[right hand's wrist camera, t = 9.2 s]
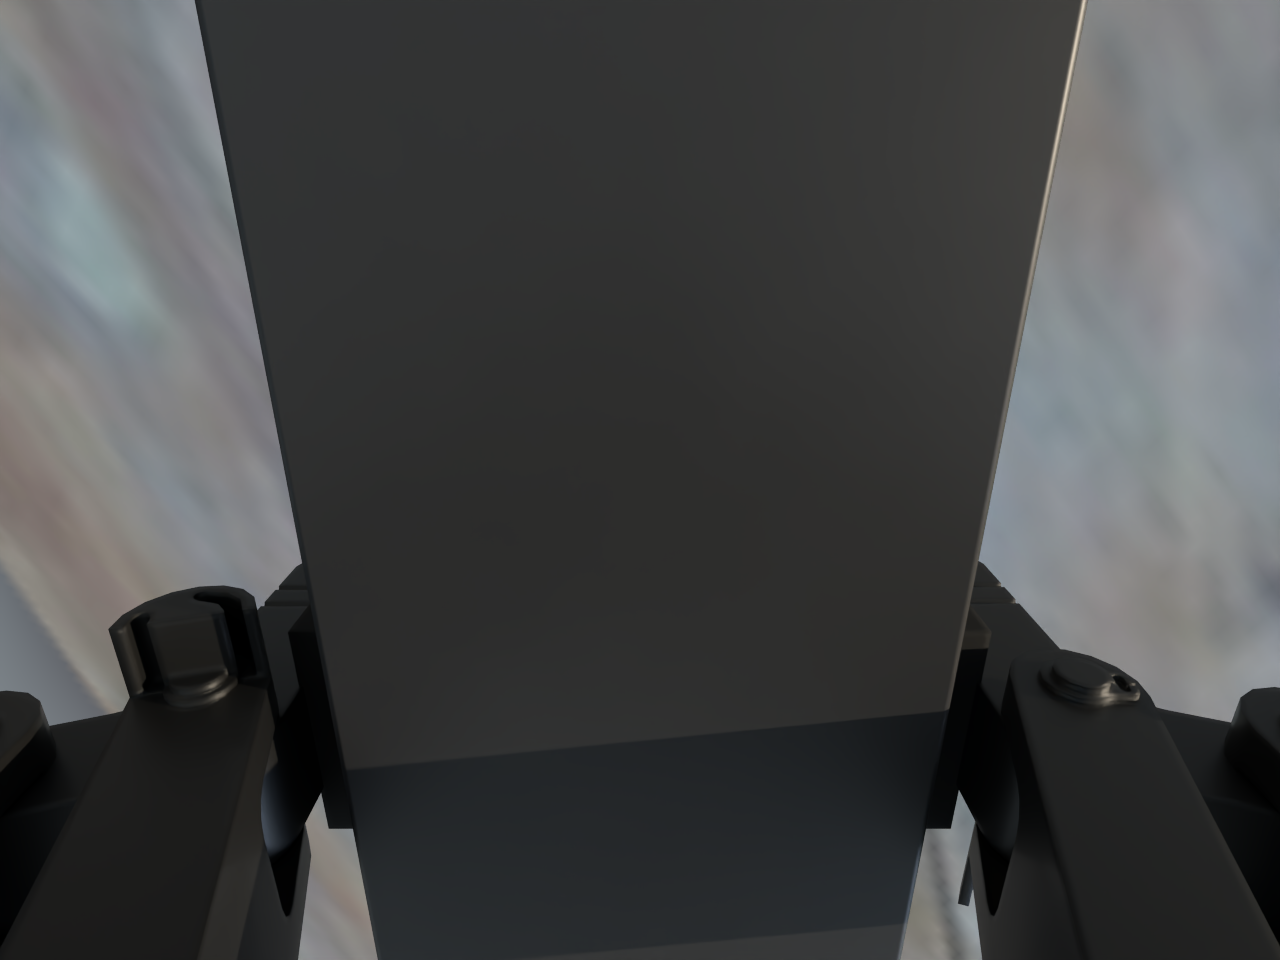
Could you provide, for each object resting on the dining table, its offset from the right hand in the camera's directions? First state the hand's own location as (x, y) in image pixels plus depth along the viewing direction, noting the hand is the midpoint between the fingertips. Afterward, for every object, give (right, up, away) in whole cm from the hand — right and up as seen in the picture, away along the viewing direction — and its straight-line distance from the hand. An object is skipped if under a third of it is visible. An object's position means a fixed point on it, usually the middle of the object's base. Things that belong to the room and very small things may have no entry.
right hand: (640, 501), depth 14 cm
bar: (0, +10, -3) cm, 10 cm away
